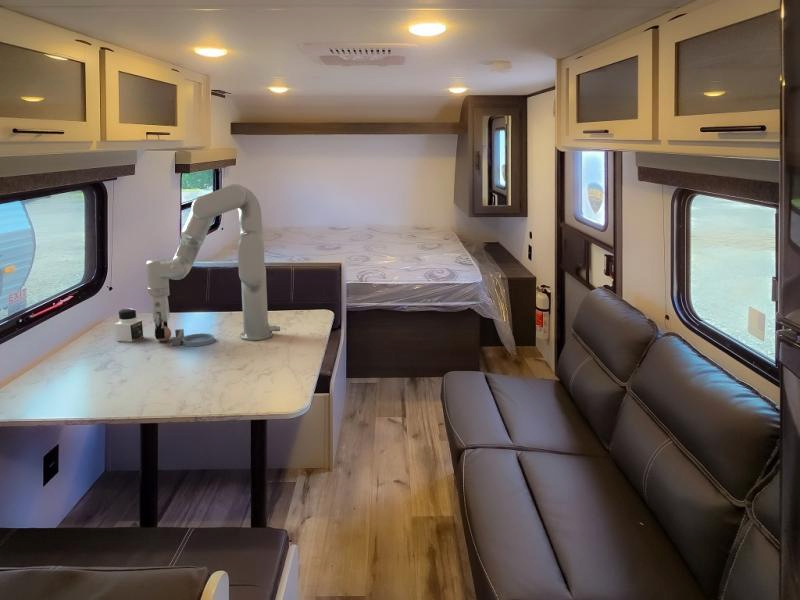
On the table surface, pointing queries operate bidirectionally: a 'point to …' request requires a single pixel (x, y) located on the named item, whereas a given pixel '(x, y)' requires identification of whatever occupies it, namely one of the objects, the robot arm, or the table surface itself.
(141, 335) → the medicine bottle
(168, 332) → the ball
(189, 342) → the dish
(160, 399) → the table surface
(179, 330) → the gate arch
